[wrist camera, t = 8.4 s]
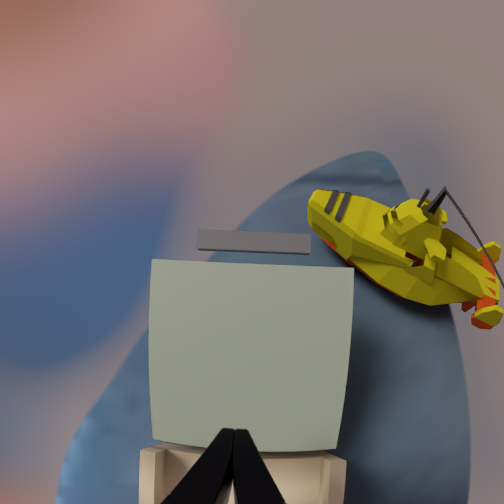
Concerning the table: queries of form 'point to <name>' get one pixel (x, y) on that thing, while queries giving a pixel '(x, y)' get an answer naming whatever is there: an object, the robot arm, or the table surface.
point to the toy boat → (411, 251)
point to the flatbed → (278, 463)
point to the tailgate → (249, 345)
